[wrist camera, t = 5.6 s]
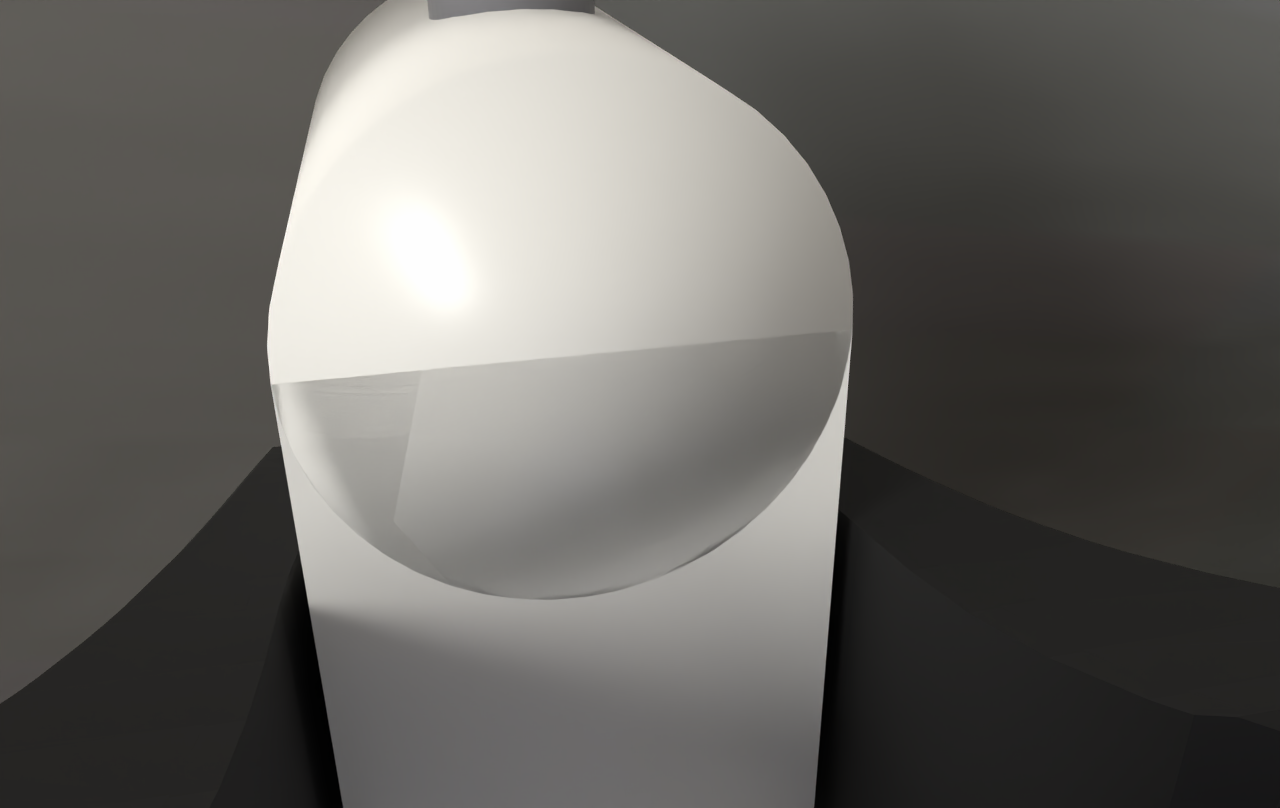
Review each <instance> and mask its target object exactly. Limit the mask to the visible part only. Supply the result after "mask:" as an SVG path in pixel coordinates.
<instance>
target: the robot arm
mask: <svg viewBox="0 0 1280 808" xmlns="http://www.w3.org/2000/svg"><path fill="white" fill-rule="evenodd" d="M0 808H343V803H342V797H341V792H340V786H339V780H338V774H337V768H336V762H335V757H334V751H333V745H332V739H331V733H330V727H329V722H328V716H327V710H326V704H325V698H324V692H323V687H322V681H321V675H320V669H319V663H318V657H317V651H316V646H315V640H314V634H313V628H312V622H311V616H310V611H309V605H308V599H307V593H306V587H305V581H304V576H303V570H302V564H301V558H300V552H299V546H298V540H297V535H296V529H295V523H294V517H293V511H292V505H291V500H290V494H289V488H288V482H287V476H286V470H285V465H284V459H283V453H282V447H273V448H272V449H271V450H270V451H269V452H268V453H267V454H266V455H265V457H264V458H263V459H262V460H261V461H260V462H259V463H258V464H257V465H256V467H255V468H254V469H253V470H252V471H251V472H250V473H249V475H248V476H247V477H246V478H245V479H244V481H243V482H242V483H241V484H240V485H239V486H238V488H237V489H236V490H235V491H234V492H233V494H232V495H231V496H230V497H229V498H228V499H227V501H226V502H225V503H224V504H223V505H222V506H221V508H220V509H219V510H218V511H217V512H216V513H215V515H214V516H213V517H212V518H211V519H210V520H209V521H208V522H207V524H206V525H205V526H204V527H203V528H202V529H201V530H200V531H199V532H198V533H197V534H196V536H195V537H194V538H193V539H192V540H191V541H190V542H189V543H188V544H187V545H186V547H185V548H184V549H183V550H182V551H181V552H180V553H179V554H178V555H177V556H176V557H175V558H174V559H173V560H172V561H171V562H170V563H169V564H168V565H167V566H166V567H165V568H164V569H163V570H162V571H161V572H160V573H159V574H158V575H157V576H156V577H155V578H153V579H152V580H151V581H150V582H149V583H148V584H147V585H146V586H145V587H144V588H143V589H142V590H141V591H140V592H139V593H138V594H137V595H136V596H135V597H134V598H133V599H132V600H131V601H130V602H129V603H128V604H127V605H126V606H125V607H124V608H123V609H121V610H120V611H119V612H118V613H117V614H116V615H115V616H113V617H112V618H111V619H110V620H109V621H108V622H107V623H106V624H104V625H103V626H102V627H101V628H100V629H98V630H97V631H96V632H95V633H94V634H92V635H91V636H90V637H89V638H88V639H86V640H85V641H84V642H83V643H82V644H80V645H79V646H78V647H77V648H75V649H74V650H73V651H71V652H70V653H69V654H68V655H66V656H65V657H64V658H62V659H61V660H60V661H59V662H57V663H56V664H55V665H53V666H52V667H51V668H49V669H48V670H47V671H46V672H44V673H43V674H42V675H40V676H39V677H38V678H37V679H35V680H34V681H32V682H31V683H30V684H28V685H27V686H26V687H24V688H23V689H22V690H20V691H19V692H17V693H16V694H14V695H13V696H11V697H10V698H8V699H7V700H5V701H4V702H2V703H1V704H0ZM814 808H1280V588H1277V587H1271V586H1265V585H1261V584H1256V583H1251V582H1247V581H1242V580H1237V579H1233V578H1228V577H1223V576H1218V575H1214V574H1209V573H1205V572H1201V571H1197V570H1193V569H1189V568H1185V567H1181V566H1177V565H1174V564H1170V563H1166V562H1162V561H1158V560H1154V559H1150V558H1146V557H1142V556H1138V555H1135V554H1131V553H1127V552H1124V551H1120V550H1117V549H1114V548H1110V547H1107V546H1103V545H1100V544H1097V543H1093V542H1090V541H1087V540H1084V539H1081V538H1078V537H1075V536H1072V535H1069V534H1066V533H1063V532H1061V531H1058V530H1055V529H1052V528H1049V527H1046V526H1043V525H1040V524H1037V523H1034V522H1031V521H1028V520H1026V519H1023V518H1020V517H1017V516H1015V515H1012V514H1010V513H1007V512H1004V511H1002V510H999V509H997V508H994V507H992V506H989V505H987V504H984V503H982V502H980V501H977V500H975V499H973V498H970V497H968V496H966V495H964V494H961V493H959V492H957V491H954V490H952V489H950V488H947V487H945V486H943V485H940V484H938V483H936V482H934V481H932V480H929V479H927V478H925V477H923V476H921V475H919V474H917V473H915V472H912V471H910V470H908V469H906V468H904V467H902V466H900V465H898V464H896V463H894V462H892V461H890V460H888V459H886V458H884V457H882V456H880V455H878V454H876V453H874V452H872V451H870V450H868V449H866V448H864V447H862V446H860V445H858V444H856V443H854V442H852V441H850V440H848V439H846V438H845V437H844V442H843V454H842V466H841V479H840V491H839V504H838V516H837V529H836V541H835V553H834V566H833V578H832V591H831V603H830V616H829V628H828V640H827V653H826V665H825V678H824V690H823V703H822V715H821V727H820V740H819V752H818V765H817V777H816V790H815V802H814Z"/></svg>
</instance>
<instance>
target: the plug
mask: <svg viewBox="0 0 1280 808" xmlns="http://www.w3.org/2000/svg"><path fill="white" fill-rule="evenodd" d="M852 330H853V291H852V283H851V274H850V266H849V260H848V256H847V252H846V248H845V245H844V241H843V237H842V233H841V229H840V226H839V224H838V222H837V219H836V217H835V214H834V212H833V210H832V207H831V205H830V203H829V200H828V198H827V196H826V194H825V192H824V190H823V189H822V187H821V185H820V184H819V182H818V180H817V179H816V177H815V175H814V174H813V172H812V171H811V169H810V167H809V166H808V164H807V163H806V161H805V160H804V159H803V158H802V157H801V155H800V154H799V153H798V152H797V151H796V149H795V148H794V147H793V146H792V144H791V143H790V142H789V141H788V140H787V138H786V137H785V136H784V135H783V134H782V133H781V132H780V131H779V130H778V129H776V128H775V127H774V126H773V125H772V124H771V123H770V122H769V121H768V120H766V119H765V118H764V117H763V116H762V115H761V114H760V113H759V112H758V111H757V110H755V109H754V108H752V107H751V106H749V105H748V104H746V103H745V102H743V101H742V100H740V99H739V98H737V97H736V96H734V95H733V94H731V93H730V92H728V91H727V90H725V89H724V88H722V87H721V86H719V85H718V84H716V83H715V82H713V81H711V80H710V79H708V78H707V77H705V76H704V75H702V74H701V73H699V72H697V71H696V70H694V69H693V68H691V67H690V66H688V65H686V64H685V63H683V62H682V61H680V60H679V59H677V58H675V57H674V56H672V55H671V54H669V53H668V52H666V51H664V50H663V49H661V48H660V47H658V46H657V45H655V44H653V43H652V42H650V41H649V40H647V39H646V38H644V37H643V36H641V35H639V34H638V33H636V32H635V31H633V30H632V29H630V28H628V27H627V26H625V25H624V24H622V23H621V22H619V21H617V20H616V19H614V18H613V17H611V16H610V15H608V14H606V13H605V12H603V11H602V10H600V9H599V8H597V7H595V5H594V0H387V1H385V2H384V3H383V4H382V5H380V6H379V7H378V8H377V9H375V10H374V11H373V12H371V13H370V14H369V15H368V16H367V17H366V18H365V19H364V20H363V21H362V22H361V23H360V24H359V25H358V26H357V27H356V28H355V29H354V30H353V31H352V32H351V33H350V35H349V36H348V37H347V39H346V40H345V42H344V43H343V44H342V46H341V47H340V48H339V50H338V51H337V53H336V54H335V56H334V58H333V60H332V62H331V64H330V66H329V68H328V70H327V71H326V73H325V75H324V78H323V81H322V84H321V86H320V89H319V92H318V95H317V98H316V102H315V106H314V110H313V115H312V119H311V124H310V128H309V132H308V137H307V141H306V146H305V150H304V154H303V159H302V163H301V168H300V172H299V176H298V181H297V185H296V190H295V194H294V198H293V203H292V207H291V212H290V216H289V220H288V225H287V229H286V234H285V238H284V242H283V247H282V251H281V256H280V260H279V264H278V269H277V273H276V278H275V283H274V288H273V293H272V298H271V303H270V308H269V324H268V342H267V350H268V360H269V371H270V381H271V389H272V394H273V400H274V406H275V412H276V418H277V424H278V430H279V435H280V441H281V447H282V453H283V459H284V465H285V470H286V476H287V482H288V488H289V494H290V500H291V505H292V511H293V517H294V523H295V529H296V535H297V540H298V546H299V552H300V558H301V564H302V570H303V576H304V581H305V587H306V593H307V599H308V605H309V611H310V616H311V622H312V628H313V634H314V640H315V646H316V651H317V657H318V663H319V669H320V675H321V681H322V687H323V692H324V698H325V704H326V710H327V716H328V722H329V727H330V733H331V739H332V745H333V751H334V757H335V762H336V768H337V774H338V780H339V786H340V792H341V797H342V803H343V808H814V802H815V790H816V777H817V765H818V752H819V740H820V727H821V715H822V703H823V690H824V678H825V665H826V653H827V640H828V628H829V616H830V603H831V591H832V578H833V566H834V553H835V541H836V529H837V516H838V504H839V491H840V479H841V466H842V454H843V442H844V429H845V417H846V404H847V392H848V379H849V367H850V355H851V342H852Z"/></svg>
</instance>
